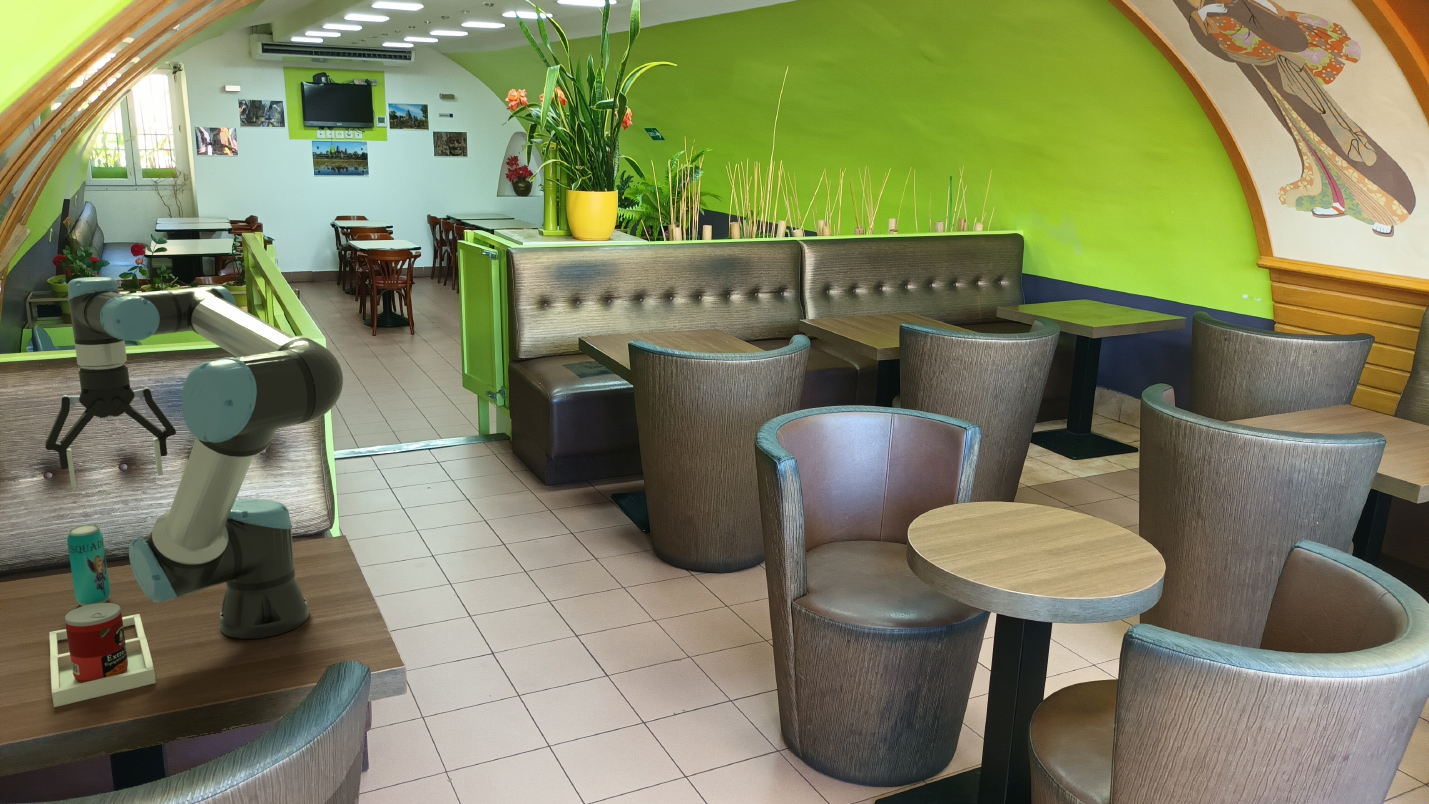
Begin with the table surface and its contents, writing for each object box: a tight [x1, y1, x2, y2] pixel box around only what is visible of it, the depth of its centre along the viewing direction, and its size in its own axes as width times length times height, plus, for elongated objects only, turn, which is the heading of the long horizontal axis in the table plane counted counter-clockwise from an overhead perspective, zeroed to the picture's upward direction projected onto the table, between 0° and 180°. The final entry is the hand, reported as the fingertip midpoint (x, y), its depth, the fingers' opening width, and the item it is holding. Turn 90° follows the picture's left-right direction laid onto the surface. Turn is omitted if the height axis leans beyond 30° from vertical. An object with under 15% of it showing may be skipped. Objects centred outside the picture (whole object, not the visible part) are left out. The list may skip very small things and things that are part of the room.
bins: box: [49, 613, 157, 708], centre depth 170 cm, size 27×14×2 cm, turn 34°
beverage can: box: [66, 524, 111, 607], centre depth 191 cm, size 6×6×15 cm
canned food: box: [64, 602, 128, 683], centre depth 163 cm, size 8×8×11 cm
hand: (117, 479), depth 181 cm, fingers open, 13 cm apart
